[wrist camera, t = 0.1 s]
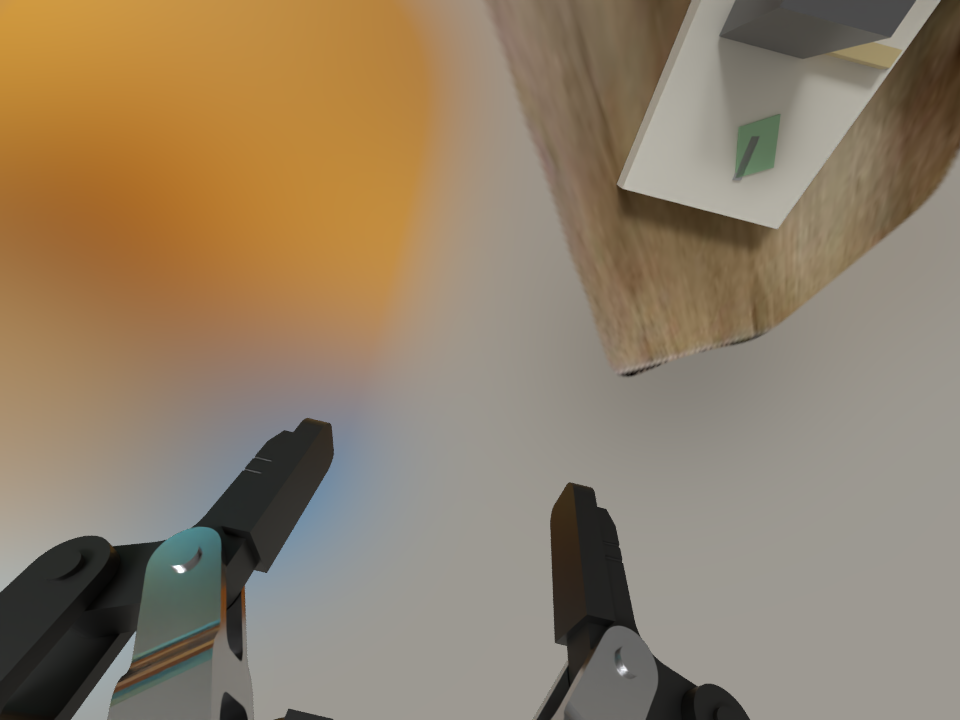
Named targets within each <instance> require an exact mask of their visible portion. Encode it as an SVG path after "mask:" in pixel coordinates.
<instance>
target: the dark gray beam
mask: <svg viewBox="0 0 960 720" xmlns="http://www.w3.org/2000/svg"><path fill="white" fill-rule="evenodd" d="M915 1H916V0H735V2H734V4H733V7H732V9H731V11H730V13H729V15H728V17H727V20H726V22H725V24H724V26H723V28H722V30H721V33H720V35H719V37H723V38H727V39H730V40H734V41H738V42H741V43H745V44H749V45H753V46H756V47H760V48H764V49H767V50H771V51H775V52H779V53H782V54H786V55H790V56H793V57H797V58H801V59H805V58H809V57H813V56H817V55H821V54H825V55H829V56H833V57H836V58H840V59H844V60H847V61H851V62H855V63H859V64H862V65H866V66H870V67H873V68H877V69H887V68H890V67H891V66H892V64H893V63H894V62H895V60H896V59H897V57H898V56H899V54H900V53H901V52H902V50H901V49H897V48H893V47H889V46H886V45H882V44H878V43H875V41H879V40H883V39H887V38H891V37H892V35H893V34H894V32H895V31H896V29H897V28H898V26H899V25H900V23H901V22H902V20H903V19H904V18H905V16H906V15H907V13H908V12H909V10H910V9H911V7H912V6H913V4H914V3H915Z"/></svg>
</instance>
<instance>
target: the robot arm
mask: <svg viewBox="0 0 960 720" xmlns="http://www.w3.org/2000/svg"><path fill="white" fill-rule="evenodd" d="M333 455H334V449H333V437H332V426H331V424H330V423H327V422H323V421H318V420H314V419H310V418H306V419H304V420H303V421H302V422H301V423H300V425H299V426H298V427H297V428H296V430H295V431H294V432H289V431H285V430H284V431H283V432H281V433H280V434H278V435H276V436H275V437H273V438H272V439H270V440H269V441H267V442H266V444H265V445H264V446H263V447H262V448H261V450H260V451H259V452H258V453H257V454H256V456H255V458H254V459H252V460H251V461H250V463H249V464H248V465H247V466H246V468H245V470H244V471H242V472H241V473H240V475H239V476H238V477H237V478H236V479H235V481H234V482H233V483H232V484H231V485H230V487H229V488H228V489H227V490H226V491H225V492H224V494H223V495H222V496H221V497H220V498H219V500H218V501H217V502H216V503H215V504H214V505H213V507H212V508H211V509H210V510H209V511H208V513H207V514H206V515H205V516H204V517H203V518H202V519H201V520H200V521H199V522H198V523H197V524H196V525H194V526H193V527H192V528H190V529H186V530H184V531H181V532H179V533H177V534H175V535H173V536H172V537H170V538H169V539H167V540H164V541H158V542H152V543H141V544H131V545H121V546H111V545H110V543H109V542H108V541H107V540H105V539H104V538H102V537H98V536H83V537H79V538H75V539H72V540H68V541H66V542H63V543H61V544H59V545H57V546H55V547H53V548H52V549H50V550H48V551H47V552H45V553H44V554H43V555H41V556H40V557H38V558H37V559H36V560H35V561H34V562H33V563H32V564H31V565H29V566H28V567H27V568H26V569H25V570H24V571H23V572H22V573H21V574H20V575H19V576H18V577H17V578H15V580H13V581H12V582H11V583H10V584H9V585H8V586H7V587H6V588H5V589H4V590H3V591H1V592H0V720H71V719H72V717H73V716H74V714H75V713H76V712H77V710H78V709H79V708H80V706H81V705H82V703H83V702H84V701H85V699H86V698H87V697H88V695H89V694H90V692H91V691H92V690H93V688H94V687H95V686H96V684H97V683H98V681H99V680H100V679H101V677H102V676H103V675H104V673H105V672H106V670H107V669H108V668H109V666H110V665H111V664H112V662H113V661H114V659H115V658H116V657H117V655H118V654H119V653H120V651H121V650H122V648H123V647H124V646H125V644H126V643H127V642H128V640H129V639H130V638H131V636H132V635H133V634H134V632H135V631H136V638H135V645H134V651H133V657H132V662H131V666H130V668H129V670H128V672H127V673H126V674H125V675H124V676H122V677H121V678H120V680H119V681H118V683H117V685H116V687H115V690H114V692H113V695H112V699H111V703H110V708H109V713H108V719H107V720H254V712H253V692H252V683H251V676H250V672H249V668H248V660H247V642H246V641H247V639H246V612H245V611H246V609H245V584H246V582H247V580H248V579H249V577H250V576H251V574H252V572H253V570H257V571H261V572H265V573H267V571H268V570H269V568H270V567H271V565H272V563H273V562H274V560H275V558H276V557H277V555H278V553H279V552H280V550H281V548H282V547H283V545H284V543H285V542H286V540H287V538H288V537H289V535H290V533H291V532H292V530H293V528H294V526H295V525H296V523H297V521H298V520H299V518H300V516H301V515H302V513H303V511H304V510H305V508H306V506H307V505H308V503H309V501H310V500H311V498H312V496H313V495H314V493H315V491H316V490H317V488H318V486H319V484H320V483H321V481H322V480H323V478H324V476H325V474H326V473H327V471H328V469H329V467H330V465H331V462H332V459H333ZM550 529H551V551H552V552H551V554H552V578H553V605H554V629H555V643H557V644H561V645H566V646H567V650H568V661H567V662H566V664H565V665H564V667H563V669H562V670H561V672H560V674H559V675H558V677H557V679H556V680H555V682H554V684H553V686H552V687H551V689H550V691H549V692H548V694H547V696H546V698H545V699H544V701H543V703H542V704H541V706H540V708H539V709H538V711H537V713H536V715H535V716H534V718H533V720H750V719H749V717H748V716H747V714H746V712H745V711H744V710H743V708H742V706H741V705H740V704H739V703H738V702H737V701H736V699H735V698H734V697H733V696H731V695H730V694H729V693H728V692H727V691H725V690H724V689H723V688H721V687H719V686H716V685H714V684H704V685H702V686H699V687H698V686H696V685H694V684H693V683H692V682H690V681H688V680H687V679H685V678H684V677H682V676H681V675H679V674H678V673H676V672H675V671H673V670H671V669H670V668H669V667H667V666H665V665H664V664H663V663H661V662H660V661H659V660H658V659H657V658H656V657H655V656H654V655H653V654H652V653H651V651H650V650H649V648H648V646H647V645H646V643H645V642H644V641H643V640H642V638H641V637H640V635H639V633H638V630H637V627H636V624H635V620H634V615H633V611H632V605H631V600H630V596H629V591H628V585H627V581H626V575H625V571H624V566H623V563H622V556H621V551H620V548H619V541H618V536H617V531H616V526H615V524H614V522H613V521H612V519H611V517H610V515H609V513H608V512H607V510H606V509H604V508H600V507H597V503H596V498H595V492H594V490H593V488H591V487H587V486H583V485H579V484H574V483H568V484H567V485H566V487H565V488H564V490H563V492H562V494H561V495H560V497H559V498H558V500H557V502H556V503H555V505H554V507H553V509H552V514H551V520H550ZM275 720H333V719H331V718H326V717H322V716H317V715H313V714H309V713H305V712H301V711H296V710H292V709H288V711H287V714H286V716H285V717H284V718H278V719H275Z"/></svg>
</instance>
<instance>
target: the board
mask: <svg viewBox="0 0 960 720" xmlns="http://www.w3.org/2000/svg"><path fill="white" fill-rule="evenodd" d="M940 1H941V0H916V1H915V3H914V4H913V6H912V7H911V9H910V10H909V12H908V13H907V15H906V16H905V18H904V19H903V20H902V22H901V23H900V25H899V26H898V28H897V29H896V31H895V32H894V34H893V35H892V37H891V38H887V39H883V40H879V41H875V43H878V44H882V45H886V46H889V47H893V48H897V49H901V50H902V52H901V53H900V54H899V56H898V57H897V59H896V60H895V62H894V63H893V64H892V66H891V67H890V68H887V69H877V68H873V67H870V66H866V65H862V64H859V63H855V62H851V61H847V60H844V59H840V58H836V57H833V56H829V55H825V54H821V55H817V56H813V57H809V58H805V59H801V58H797V57H793V56H790V55H786V54H782V53H779V52H775V51H771V50H767V49H764V48H760V47H756V46H753V45H749V44H745V43H741V42H738V41H734V40H730V39H727V38H723V37H719V35H720V33H721V30H722V28H723V26H724V24H725V22H726V20H727V17H728V15H729V13H730V11H731V9H732V7H733V4H734V2H735V0H692V1H691V3H690V5H689V8H688V10H687V13H686V15H685V18H684V20H683V23H682V25H681V28H680V30H679V32H678V35H677V37H676V40H675V42H674V45H673V47H672V50H671V52H670V55H669V57H668V59H667V62H666V64H665V67H664V69H663V72H662V74H661V77H660V79H659V82H658V84H657V86H656V89H655V91H654V94H653V96H652V99H651V101H650V104H649V106H648V109H647V111H646V114H645V116H644V118H643V121H642V123H641V126H640V128H639V131H638V133H637V136H636V138H635V141H634V143H633V145H632V148H631V150H630V153H629V155H628V158H627V160H626V163H625V165H624V168H623V170H622V172H621V175H620V177H619V180H618V182H617V185H618V186H619V187H621V188H622V189H626V190H629V191H633V192H637V193H641V194H645V195H649V196H652V197H656V198H660V199H664V200H668V201H671V202H675V203H679V204H683V205H687V206H691V207H694V208H698V209H702V210H706V211H710V212H714V213H717V214H721V215H725V216H729V217H733V218H736V219H740V220H744V221H748V222H752V223H756V224H759V225H763V226H767V227H771V228H775V229H778V228H779V226H780V225H781V224H782V222H783V221H784V219H785V218H786V217H787V215H788V214H789V212H790V211H791V210H792V208H793V207H794V205H795V204H796V203H797V201H798V200H799V198H800V197H801V196H802V194H803V193H804V191H805V190H806V189H807V187H808V186H809V184H810V183H811V182H812V180H813V179H814V177H815V176H816V175H817V173H818V172H819V170H820V169H821V168H822V166H823V165H824V163H825V162H826V161H827V159H828V158H829V156H830V155H831V154H832V152H833V151H834V149H835V148H836V147H837V145H838V144H839V142H840V141H841V140H842V138H843V137H844V135H845V134H846V133H847V131H848V130H849V128H850V127H851V126H852V124H853V123H854V121H855V120H856V119H857V117H858V116H859V114H860V113H861V112H862V110H863V109H864V107H865V106H866V105H867V103H868V102H869V100H870V99H871V98H872V96H873V95H874V93H875V92H876V91H877V89H878V88H879V86H880V85H881V84H882V82H883V81H884V79H885V78H886V77H887V75H888V74H889V72H890V71H891V70H892V68H893V67H894V65H895V64H896V63H897V61H898V60H899V58H900V57H901V56H902V54H903V53H904V51H905V50H906V49H907V47H908V46H909V44H910V43H911V42H912V40H913V39H914V37H915V36H916V35H917V33H918V32H919V30H920V29H921V28H922V26H923V25H924V23H925V22H926V21H927V19H928V18H929V16H930V15H931V14H932V12H933V11H934V9H935V8H936V7H937V5H938V4H939V2H940Z"/></svg>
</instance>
